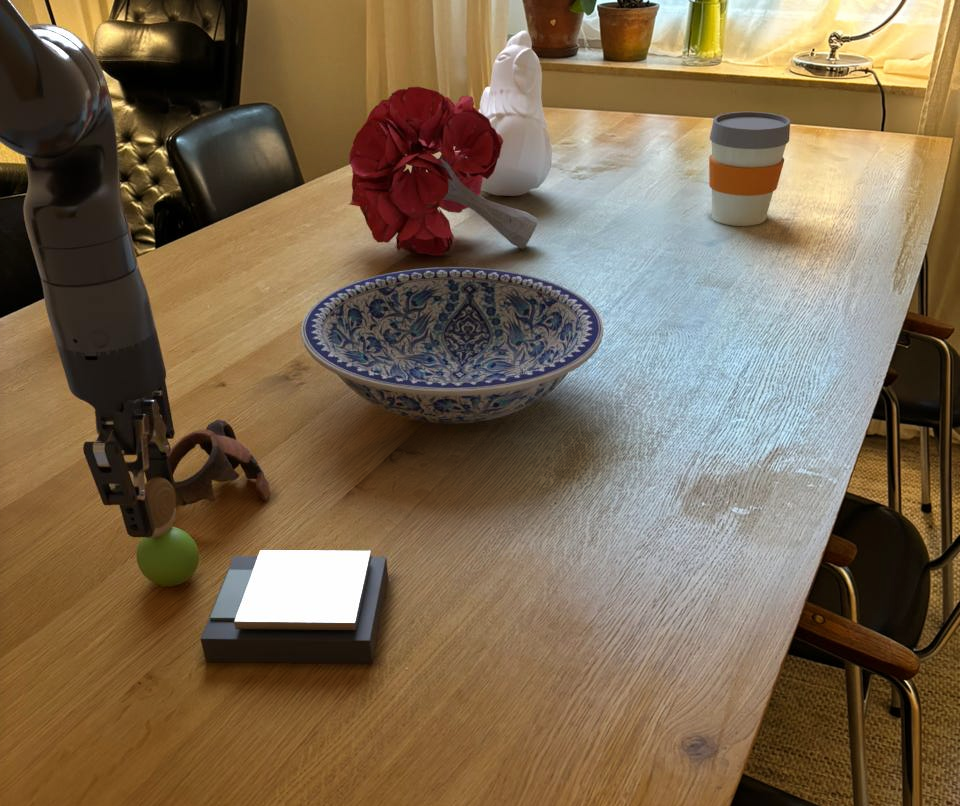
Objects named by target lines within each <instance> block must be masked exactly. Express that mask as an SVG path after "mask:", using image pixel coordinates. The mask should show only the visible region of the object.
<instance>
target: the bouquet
mask: <svg viewBox="0 0 960 806" xmlns="http://www.w3.org/2000/svg"><path fill="white" fill-rule="evenodd" d="M474 105H475V102H474V98H473V96H470V95H461V97H460V98H458V100H457V102H456V103H454V102H453V101H452V100H451V99H450V98H449V97H447V96H444V95H443V94H442V93H440V92H439V91H437V90H434V89H428V88H425V87H421V86H409V87H408V88H407V89H406V88H402V89H397V90H395V91H394V92H392V93H391V95H390V96H389V97H388V99H382V100H381V101H380V102H379V103H378V104H377V105H375V106H374V108H372V110H371V111H370V112H369V114H368V116H367V119H366V122H365V123H364V124H363V125H362V126H361V128H360V129H359V130H358V132H356V135H355V136H354V139H353V142H352V146H351V149H350V151H349V165H350V167H351V170H352V178H351V188H352V193H351V200H350V202H349V203H348V205H350V206H353V207H354V206H355V207H359V210H360V211H361V213H362V215H363V216H364V219H365V223H366V225H367V227H368V229H369V230H370V232H371V236H372V239H373V240H375V242H377V243H380V244H382V243H385V244H388V243H390V242H391V241H392V239H393V238H394V237H395V236H396V237H395V239H396V241H395V242H396V252H399V251H401V249H402V250H404V251H406V252H407V251H408V252H414V253H417V254H425V255H426V254H428V255H431V256H435V257H436V256H442V255H443V256H444V255H445V254H448V253H450V250H451V248H452V249H454V244H455V243H454V242H455V236H454V234H453V232H452V229H451V228H452V227H451V224H450V220H449V218H447V216H446V215H445V214H444V212H443V211H446V212H448V213H458V214H460V213H462V212H463V210H466V209H470V210H472V211H474V212H475V213H477V214H478V215H479V216H480V217H482V218H483V219H484V220H485V221H486V222H487V223H488V224H489V225H491V227H492V228H493V229H494V230H496V231H497V233H499V234H500V235H501V236H502V237H504V238H505V239H506V240H507V241H508V242H509V243H510V244H511V245H513V246H515V247H517V248H519V249H521V250H523V249H525V247H526V246H527V245H528V243H529V241H530V239H531V238H532V236H533V234H534V232H535V230H536V228H537V224H538V222H539V219H538V218H537V217H535V216H534V215H532V214H530V213H529V212H527V211H524V210H520V209H517V208H514V207H511V206H507V205H504V204H501V203H498V202H494V201H492V200H489V199H486V198H483V197H482V196H481V193H482V190H480V189H481V185H482V181H483V177H484V178H486V179H488V178H489V177H490V176H491V175H492V174H493V172H494V169H495V167H496V164H497V160H498V158H499V157H500V151H501V148H502V144H503V140H502V137H501V136H500V135H499V134H497V133H496V130H495V129H494V128H492V127H491V124H490V120H489V119H488V118H487V117H485V116H484V115H483V114H481V113H479V110H477V108H475V107H474ZM438 153H440V156H439V157H437V156H434V155H435V154H438ZM466 157H467V158H466ZM407 166H411V170H410V169H409V168H407ZM441 209H442V210H443V211H442V210H441Z"/></svg>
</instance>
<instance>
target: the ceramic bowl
mask: <svg viewBox="0 0 960 806" xmlns="http://www.w3.org/2000/svg"><path fill="white" fill-rule="evenodd" d="M300 336H301V340H302V343H303V345H304V348H305V350H306V351H307V352H308V354H309V356H311V358H312V359H313V360H315V361H316V362H317V364H319V365H320V366H322V367H323V368H325V369H326V370H328V371H329V372H332V373H333V374H335V375H337V376H338V377H339V379H341V381H342V382H343V383H345V385H346V386H347V387H348V388H350V390H352V391H353V392H355V394H357V395H358V396H360V397H361V398H362V399H364V400H366V401H367V402H369V403H370V404H372V405H374V406H376V407H377V408H380V409H382V410H384V411H386V412H389V413H391V414H394V415H397V416H399V417H402V418H403V417H404V418H407V419H410V420H414V421H415V420H416V421H420V422H426V423H435V424H469V423H478V422H479V423H480V422H483V421H484V422H485V421H490V420H495V419H499V418H503V417H505V416H508V415H511V414H514V413H516V412H518V411H519V412H520V411H521V410H523V409H525V408H528V407H529V406H531V405H533V404H535V403H536V402H538V401H539V400H541V399H542V398H545V396H546V395H548V394H549V393H550V392H551V391H553V390H554V389H555V388H557V386H558V385H559V384H561V383H562V381H563V380H564V379H565V378H566V377H567V375H568V374H569V373H571V372H573V371H574V370H576V369H578V368H579V367H581V366H582V365H584V364H585V363H586V362H587V361H588V360H589V359H591V358H592V357H593V356H594V355H595V353H596V352H597V351H598V350H599V347H600V345H601V344H602V340H603V336H604V325H603V319H602V318H601V316H600V314H599V312H598V311H597V309H596V308H595V307H594V306H593V305H592V304H591V303H590V302H589V301H587V299H586V298H584V297H582V296H581V295H579V294H578V293H576V292H575V291H574V290H573V291H572V290H571V289H569V288H567V287H564V286H563V285H560V284H558V283H555V282H552V281H549V280H546V279H544V278H541V277H537V276H532V275H530V274H529V275H528V274H524V273H518V272H514V271H509V270H503V269H493V268H486V267H485V268H484V267H471V266H469V267H468V266H467V267H465V266H442V267H441V266H440V267H439V266H438V267H424V268H423V267H422V268H414V269H407V270H399V271H393V272H388V273H383V274H378V275H374V276H371V277H370V276H369V277H368V278H364V279H360V280H357V281H354V282H351V283H349V284H346V285H344V286H341V287H340V288H338V289H336V290H333V291H332V292H329V293H328V294H327V295H325V296H323V297H322V298H321V299H320V300H318V301H317V302H315V304H313V305H312V306H311V308H310V309H309V310H308V311H307V312H306V314H305V316H304V317H303V320H302V323H301V329H300Z"/></svg>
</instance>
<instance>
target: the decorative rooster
mask: <svg viewBox="0 0 960 806" xmlns="http://www.w3.org/2000/svg"><path fill="white" fill-rule="evenodd" d="M532 45H533V41H532V38H531V36H530V34H529V32H528V31H527V30H521V31H519V32H518V33H516V34H515V35H513V36H511V37H510V38H509V40H508V41H507V42H506V44H505V47H504V49H503V50H502V51H501V52H499V54H498V55H497V57H496V58H495V60H494V62H493V65H492V69H491V77H490V84H489V86H486V87H485V88H484V90H483V92H482V95H481V97H480V101H479V110H478V112H479V113H481V114H483V115H484V116H485V117H487V118H488V119H489V120H490V124H491V127H492V128H494V129H495V130H496V133H497V134H499V135H500V136H501V137H502V140H503V144H502V148H501V151H500V157H499V158H498V160H497V164H496V167H495V169H494V172H493V174H492V175H491V176H490V177H489V178H488V179H486V178H484V177H483V181H482V185H481V189H480V190H481V191H483V192H486V193H487V194H491V195H493V196H509V197H519V196H523V195H524V194H527V193H528V192H530V191H532V190H536V189H538V188H539V187H540V186H542V185H543V183H544V182H545V181H546V179H547V177H548V175H549V173H550V171H551V168H552V164H553V163H552V162H553V149H552V143H551V140H550V136H549V132H548V131H547V128H548V124H547V122H546V117H545V113H544V108H543V101H542V100H543V99H542V87H543V72H542V70H543V69H542V65H541V62H540V58H539V57H538V55H537V54H536V52H535V51H534V50H533V48H532V47H533V46H532ZM466 158H467V157H466Z"/></svg>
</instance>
